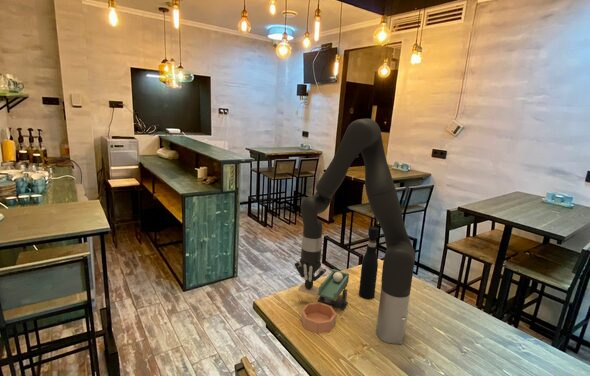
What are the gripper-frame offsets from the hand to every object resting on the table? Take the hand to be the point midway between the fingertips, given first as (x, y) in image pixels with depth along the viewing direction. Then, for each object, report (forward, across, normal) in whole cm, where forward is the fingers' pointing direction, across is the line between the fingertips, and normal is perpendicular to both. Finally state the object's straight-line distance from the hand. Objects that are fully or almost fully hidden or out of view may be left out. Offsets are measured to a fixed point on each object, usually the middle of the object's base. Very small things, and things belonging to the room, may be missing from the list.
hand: (308, 288), depth 123 cm
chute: (+3, -4, -6) cm, 8 cm away
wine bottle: (+7, -18, -19) cm, 27 cm away
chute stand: (+7, -8, -6) cm, 12 cm away
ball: (-3, -8, -10) cm, 13 cm away
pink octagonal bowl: (+7, -8, +8) cm, 13 cm away
